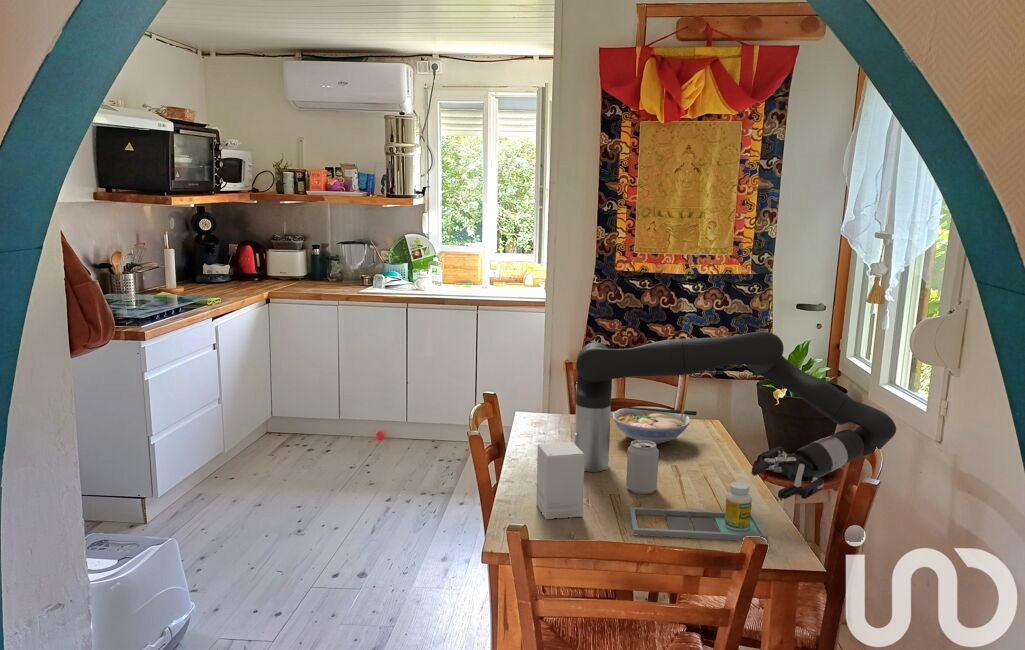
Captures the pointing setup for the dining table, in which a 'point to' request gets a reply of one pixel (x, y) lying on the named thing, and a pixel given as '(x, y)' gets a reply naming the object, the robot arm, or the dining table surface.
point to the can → (642, 467)
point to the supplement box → (560, 480)
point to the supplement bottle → (738, 507)
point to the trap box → (695, 524)
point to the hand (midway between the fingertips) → (765, 483)
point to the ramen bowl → (652, 423)
